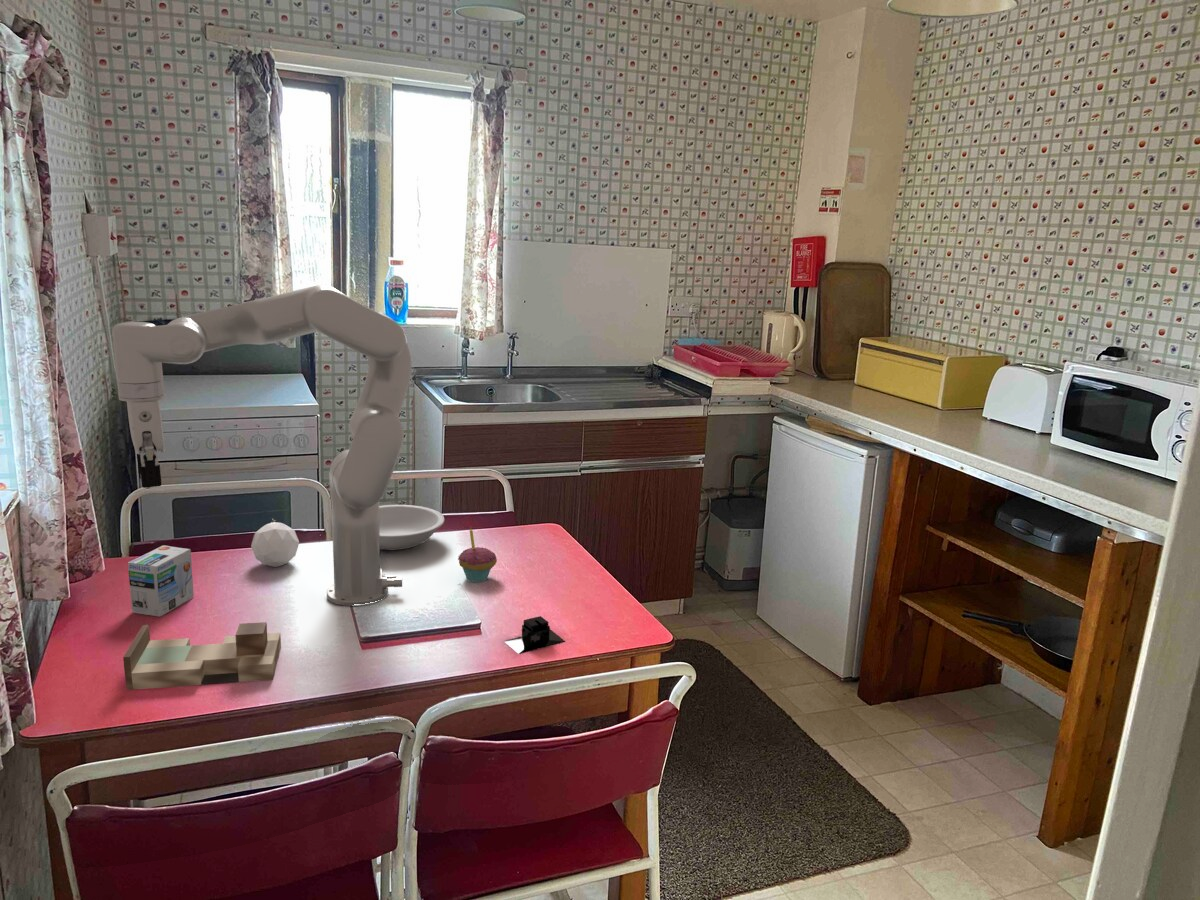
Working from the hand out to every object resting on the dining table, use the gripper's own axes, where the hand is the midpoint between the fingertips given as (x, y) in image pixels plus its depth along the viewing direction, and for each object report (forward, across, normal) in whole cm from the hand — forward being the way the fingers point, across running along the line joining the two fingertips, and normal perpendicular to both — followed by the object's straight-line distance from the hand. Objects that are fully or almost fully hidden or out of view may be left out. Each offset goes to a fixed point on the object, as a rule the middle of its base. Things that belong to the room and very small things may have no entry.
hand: (149, 479), depth 164 cm
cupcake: (+29, -7, -64) cm, 70 cm away
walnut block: (+25, -27, -12) cm, 39 cm away
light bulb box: (+28, +6, -1) cm, 29 cm away
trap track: (+28, -25, -5) cm, 38 cm away
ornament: (+29, +22, -25) cm, 44 cm away
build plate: (+30, -40, -62) cm, 79 cm away
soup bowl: (+29, +22, -53) cm, 64 cm away
